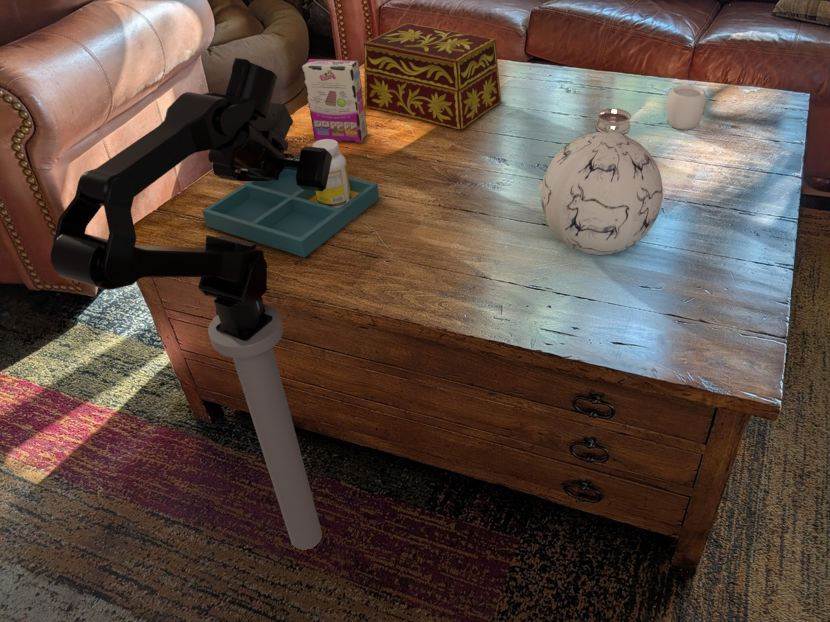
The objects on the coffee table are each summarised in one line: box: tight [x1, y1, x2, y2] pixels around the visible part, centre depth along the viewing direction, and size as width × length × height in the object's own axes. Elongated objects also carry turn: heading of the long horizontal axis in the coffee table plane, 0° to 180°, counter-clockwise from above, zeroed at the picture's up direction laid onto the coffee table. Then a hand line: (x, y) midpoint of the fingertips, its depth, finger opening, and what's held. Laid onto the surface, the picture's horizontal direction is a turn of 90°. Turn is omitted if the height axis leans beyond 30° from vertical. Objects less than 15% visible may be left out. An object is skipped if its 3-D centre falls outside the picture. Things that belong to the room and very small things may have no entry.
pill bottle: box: [311, 139, 351, 208], centre depth 135 cm, size 6×6×12 cm
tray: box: [201, 169, 380, 258], centre depth 137 cm, size 23×23×3 cm
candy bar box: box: [301, 58, 368, 144], centre depth 157 cm, size 11×5×16 cm, turn 81°
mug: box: [665, 84, 708, 131], centre depth 163 cm, size 12×8×8 cm
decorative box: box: [363, 22, 502, 131], centre depth 171 cm, size 28×19×15 cm
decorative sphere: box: [540, 131, 664, 256], centre depth 121 cm, size 20×20×20 cm
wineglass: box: [594, 107, 632, 136], centre depth 144 cm, size 7×7×12 cm
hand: (295, 181), depth 121 cm, fingers open, 9 cm apart
